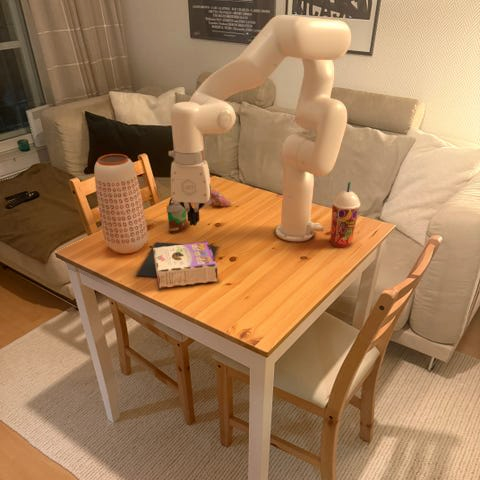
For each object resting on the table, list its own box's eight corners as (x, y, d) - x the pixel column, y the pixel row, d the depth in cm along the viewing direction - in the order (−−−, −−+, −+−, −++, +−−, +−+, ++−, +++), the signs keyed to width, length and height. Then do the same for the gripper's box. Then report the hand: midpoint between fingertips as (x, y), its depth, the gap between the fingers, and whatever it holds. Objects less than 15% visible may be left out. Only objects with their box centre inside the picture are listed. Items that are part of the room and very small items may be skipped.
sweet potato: (206, 205, 174) (199, 192, 168) (213, 197, 175) (207, 183, 169) (224, 212, 168) (218, 199, 163) (232, 204, 169) (226, 190, 164)
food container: (187, 234, 151) (185, 206, 145) (169, 234, 151) (166, 206, 145) (191, 218, 161) (189, 191, 155) (174, 218, 161) (171, 191, 155)
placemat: (217, 247, 144) (217, 246, 144) (204, 281, 128) (204, 279, 128) (156, 243, 146) (156, 242, 146) (136, 276, 130) (136, 275, 130)
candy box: (209, 258, 138) (154, 264, 135) (208, 240, 134) (152, 246, 131) (217, 282, 127) (158, 289, 124) (217, 264, 124) (156, 271, 121)
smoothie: (348, 251, 141) (357, 189, 129) (323, 245, 145) (330, 184, 133) (357, 241, 147) (367, 180, 135) (333, 234, 151) (341, 175, 138)
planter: (129, 234, 151) (114, 148, 134) (158, 245, 145) (146, 156, 128) (97, 250, 143) (78, 160, 125) (127, 262, 136) (110, 169, 119)
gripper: (156, 160, 112) (164, 228, 123) (215, 162, 111) (218, 231, 122) (164, 150, 118) (171, 216, 129) (220, 153, 116) (222, 219, 128)
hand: (193, 223), depth 125 cm, fingers closed
